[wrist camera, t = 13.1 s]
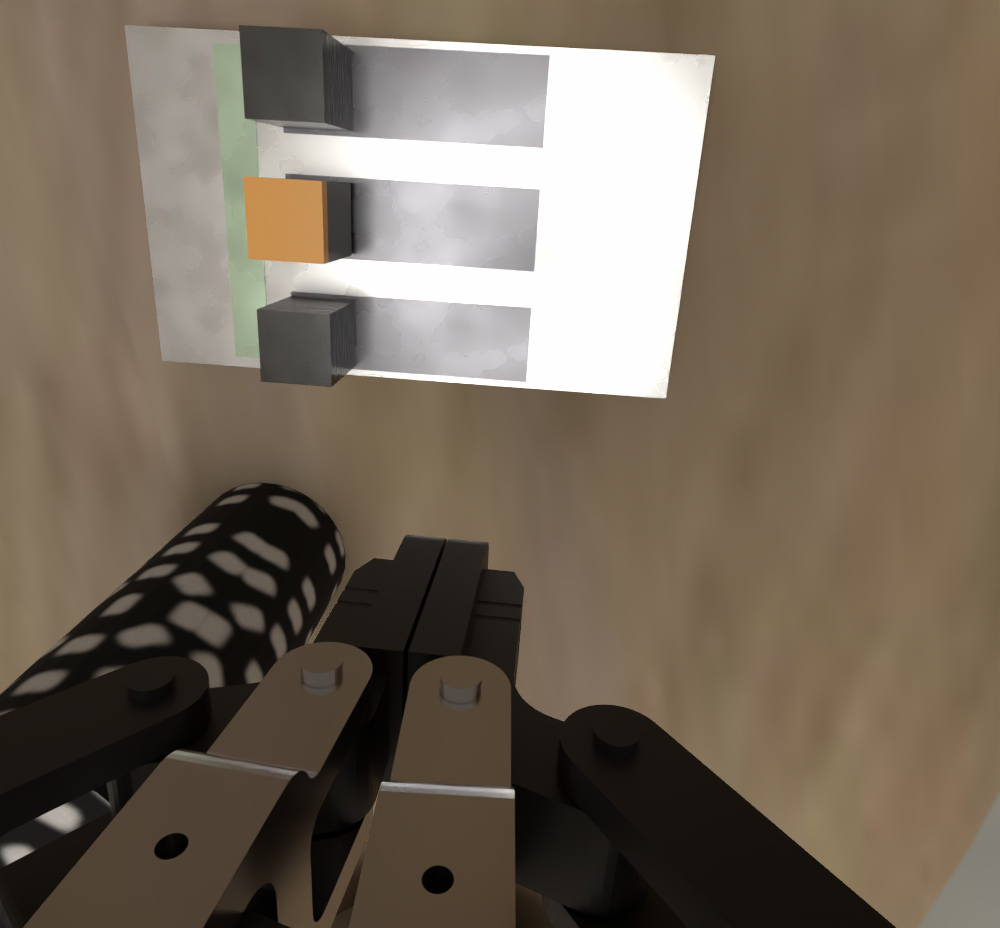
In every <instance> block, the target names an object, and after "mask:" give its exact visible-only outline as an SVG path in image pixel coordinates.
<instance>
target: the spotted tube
mask: <svg viewBox="0 0 1000 928" xmlns="http://www.w3.org/2000/svg"><path fill="white" fill-rule="evenodd" d="M344 569H345V552H344V547H343V542H342V539H341V537H340V534H339V532H338V530H337V528H336V526H335V525H334V523H333V522H332V520H331V519H330V517H329V516H328V515H327V514H326V513H325V512H324V511H323V510H322V508H321V507H320V506H319V505H317V504H316V503H315V502H313V501H312V500H311V499H309V498H308V497H307V496H305V495H303V494H301V493H299V492H297V491H295V490H293V489H290V488H286V487H283V486H280V485H274V484H266V483H258V484H247V485H243V486H240V487H236V488H234V489H232V490H230V491H228V492H226V493H224V494H222V495H221V496H220V497H219V498H218V499H216V500H215V501H214V502H213V503H212V504H211V505H210V506H209V507H207V508H206V509H205V510H204V511H203V512H202V513H201V514H200V515H199V516H197V517H196V518H195V519H194V520H193V521H192V522H191V523H190V524H189V525H187V526H186V527H185V528H184V529H183V530H182V531H181V532H180V533H179V534H177V535H176V536H175V537H174V538H173V539H172V540H171V541H170V542H169V543H167V544H166V545H165V546H164V547H163V548H162V549H161V550H160V551H159V552H157V553H156V554H155V555H154V556H153V557H152V558H151V559H150V560H149V561H147V562H146V563H145V564H144V565H143V566H142V567H141V568H140V569H138V570H137V571H136V572H135V573H134V574H133V575H132V576H131V577H130V578H128V579H127V580H126V581H125V582H124V583H123V584H122V585H121V586H120V587H118V588H117V589H116V590H115V591H114V592H113V593H112V594H111V595H110V596H108V597H107V598H106V599H105V600H104V601H103V602H102V603H101V604H100V605H98V606H97V607H96V608H95V609H94V610H93V611H92V612H91V613H90V614H88V615H87V616H86V617H85V618H84V619H83V620H82V621H81V622H80V623H78V624H77V625H76V626H75V627H74V628H73V629H72V630H71V631H70V632H68V633H67V634H66V635H65V636H64V637H63V638H62V639H61V640H60V641H58V642H57V643H56V644H55V645H54V646H53V647H52V648H51V649H50V650H48V651H47V652H46V653H45V654H44V655H43V656H42V657H41V658H40V659H38V660H37V661H36V662H35V663H34V664H33V665H32V666H31V667H30V668H28V669H27V670H26V671H25V672H24V673H23V674H22V675H21V676H20V677H18V678H17V679H16V680H15V681H14V682H13V683H12V684H11V685H10V686H8V687H7V688H6V689H5V690H4V691H3V692H2V693H1V694H0V715H2V714H5V713H7V712H10V711H12V710H15V709H17V708H20V707H23V706H25V705H28V704H30V703H33V702H35V701H38V700H40V699H43V698H45V697H48V696H51V695H53V694H56V693H58V692H61V691H63V690H66V689H68V688H71V687H73V686H76V685H78V684H81V683H84V682H86V681H89V680H91V679H94V678H96V677H99V676H101V675H104V674H106V673H109V672H112V671H114V670H117V669H119V668H122V667H124V666H127V665H129V664H132V663H135V662H138V661H141V660H145V659H149V658H155V657H165V656H177V657H184V658H188V659H192V660H194V661H196V662H198V663H200V664H201V665H202V666H204V668H205V669H206V670H207V673H208V675H209V685H210V688H215V687H224V686H233V685H242V684H250V683H257V682H261V681H262V680H263V678H264V677H265V676H266V674H267V673H268V672H269V670H270V669H271V668H272V667H273V665H274V664H275V663H276V662H277V661H278V660H279V658H281V657H282V656H283V655H285V654H286V653H288V652H290V651H291V650H293V649H296V648H298V647H301V646H304V645H306V644H307V642H308V640H309V638H310V637H311V635H312V633H313V631H314V629H315V628H316V626H317V624H318V622H319V621H320V619H321V617H322V615H323V613H324V612H325V610H326V608H327V606H328V604H329V603H330V601H331V599H332V597H333V595H334V594H335V592H336V590H337V588H338V586H339V584H340V582H341V580H342V577H343V573H344ZM110 811H111V807H110V801H109V795H108V789H107V783H106V784H104V785H102V786H100V787H98V788H96V789H94V790H92V791H90V792H88V793H86V794H84V795H82V796H80V797H78V798H76V799H74V800H72V801H70V802H68V803H66V804H64V805H62V806H60V807H58V808H56V809H54V810H52V811H49V812H47V813H45V814H43V815H41V816H39V817H37V818H35V819H33V820H31V821H29V822H27V823H25V824H23V825H21V826H19V827H17V828H15V829H13V830H11V831H10V832H8V833H6V834H5V835H4V836H2V837H1V838H0V868H2V867H4V866H6V865H8V864H10V863H12V862H14V861H16V860H18V859H20V858H22V857H23V856H25V855H27V854H29V853H31V852H33V851H35V850H37V849H39V848H41V847H43V846H45V845H47V844H48V843H50V842H52V841H54V840H56V839H58V838H60V837H62V836H64V835H66V834H68V833H70V832H72V831H73V830H75V829H77V828H79V827H81V826H83V825H85V824H87V823H89V822H91V821H93V820H95V819H96V818H98V817H100V816H102V815H104V814H106V813H108V812H110Z"/></svg>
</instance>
